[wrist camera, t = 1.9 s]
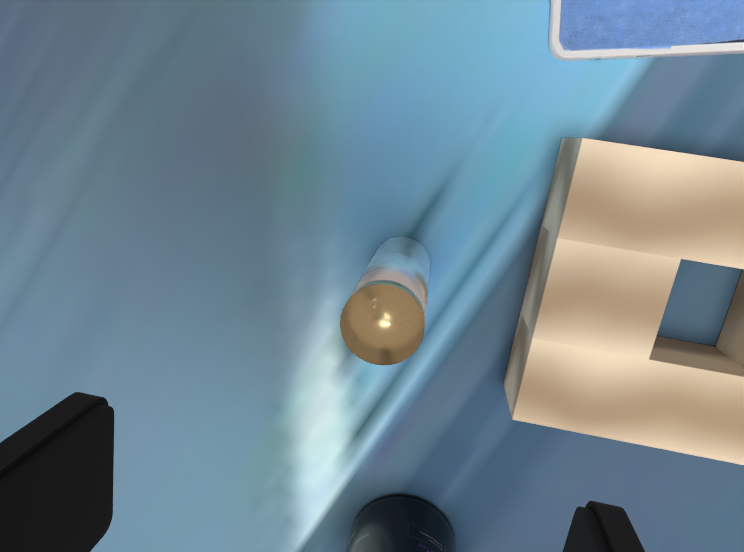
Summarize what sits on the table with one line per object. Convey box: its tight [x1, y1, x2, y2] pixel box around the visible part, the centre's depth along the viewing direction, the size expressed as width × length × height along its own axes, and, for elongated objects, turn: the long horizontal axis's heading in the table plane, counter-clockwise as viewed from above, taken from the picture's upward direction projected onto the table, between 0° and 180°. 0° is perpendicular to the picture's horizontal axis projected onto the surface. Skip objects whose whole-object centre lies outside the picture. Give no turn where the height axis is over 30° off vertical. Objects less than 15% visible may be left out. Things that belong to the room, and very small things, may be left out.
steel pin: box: [340, 236, 430, 365], centre depth 25 cm, size 3×3×10 cm
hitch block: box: [503, 138, 744, 465], centre depth 26 cm, size 14×16×4 cm
